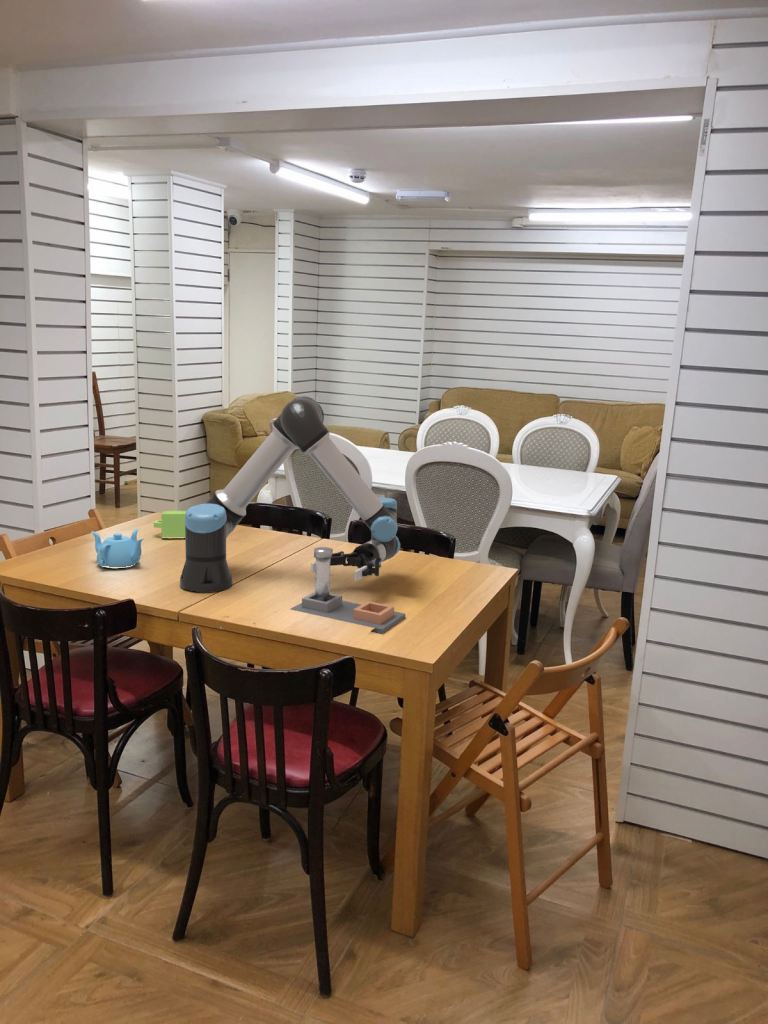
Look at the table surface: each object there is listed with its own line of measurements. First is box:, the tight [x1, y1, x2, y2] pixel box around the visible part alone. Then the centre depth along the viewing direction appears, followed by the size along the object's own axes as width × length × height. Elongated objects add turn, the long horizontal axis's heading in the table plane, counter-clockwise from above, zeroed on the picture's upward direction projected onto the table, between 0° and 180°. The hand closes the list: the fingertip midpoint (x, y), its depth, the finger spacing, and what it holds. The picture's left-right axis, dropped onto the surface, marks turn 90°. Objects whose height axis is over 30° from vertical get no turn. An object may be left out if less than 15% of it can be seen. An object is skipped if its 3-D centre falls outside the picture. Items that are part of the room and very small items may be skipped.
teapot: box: [90, 528, 144, 567], centre depth 246 cm, size 15×15×10 cm
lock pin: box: [313, 546, 334, 602], centre depth 212 cm, size 5×5×16 cm
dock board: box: [290, 591, 406, 635], centre depth 210 cm, size 28×14×4 cm, turn 63°
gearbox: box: [153, 510, 187, 538], centre depth 284 cm, size 18×10×10 cm, turn 103°
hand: (333, 572), depth 215 cm, fingers open, 13 cm apart
